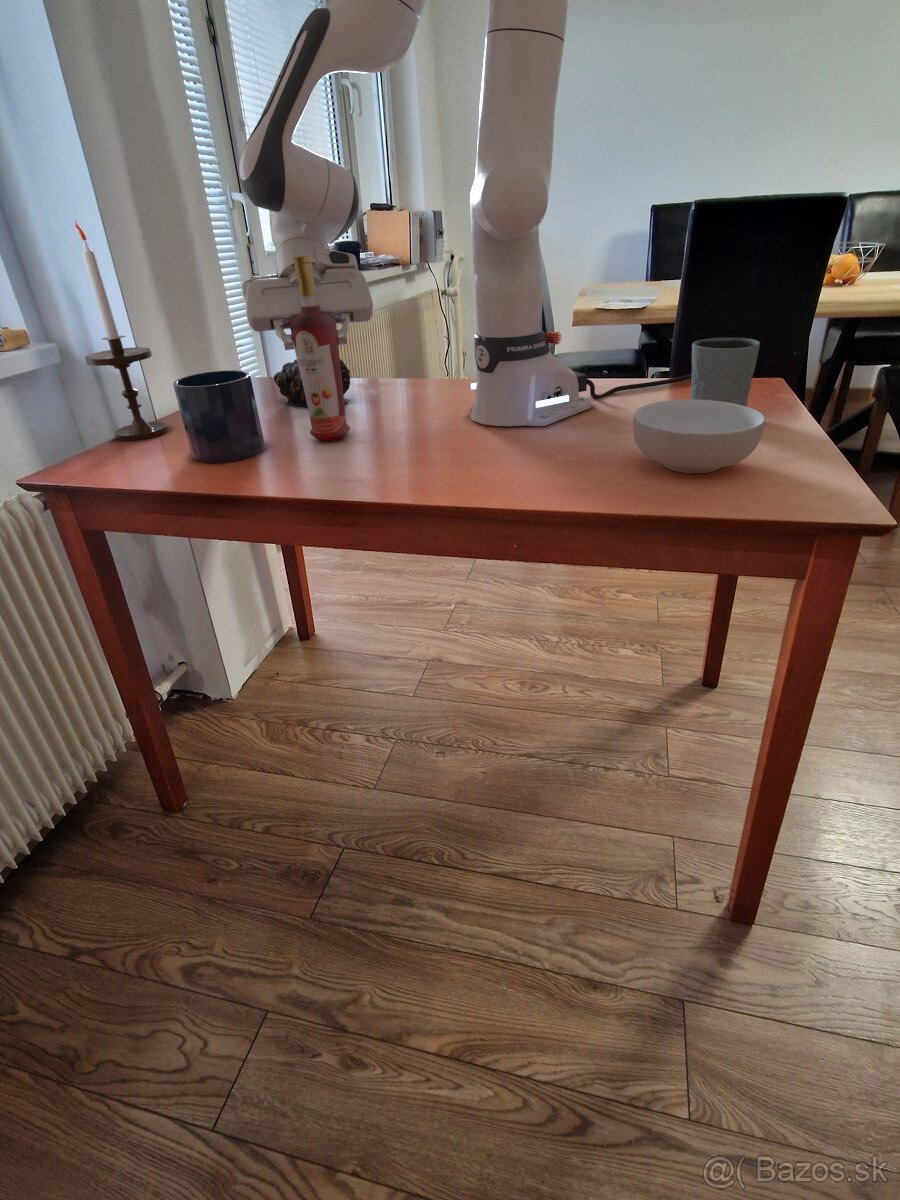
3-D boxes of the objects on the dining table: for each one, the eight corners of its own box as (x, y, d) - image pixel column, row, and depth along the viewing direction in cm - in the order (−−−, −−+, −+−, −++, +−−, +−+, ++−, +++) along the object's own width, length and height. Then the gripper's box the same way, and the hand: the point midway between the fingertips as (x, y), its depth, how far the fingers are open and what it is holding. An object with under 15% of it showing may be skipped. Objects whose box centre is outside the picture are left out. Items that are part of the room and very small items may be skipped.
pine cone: (289, 395, 145) (281, 347, 140) (361, 398, 139) (355, 347, 134) (261, 408, 137) (251, 357, 132) (336, 411, 131) (328, 358, 125)
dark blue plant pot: (251, 436, 119) (236, 366, 113) (275, 451, 111) (260, 377, 104) (184, 451, 114) (165, 379, 108) (204, 468, 105) (184, 390, 99)
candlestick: (98, 439, 124) (26, 223, 106) (145, 423, 132) (85, 220, 114) (138, 444, 119) (70, 219, 101) (184, 427, 127) (128, 216, 110)
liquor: (359, 432, 117) (334, 253, 103) (341, 445, 111) (312, 257, 97) (322, 431, 119) (292, 255, 105) (302, 444, 113) (268, 260, 99)
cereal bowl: (692, 496, 84) (699, 440, 80) (605, 461, 96) (607, 412, 93) (784, 467, 90) (795, 414, 87) (691, 438, 103) (697, 392, 99)
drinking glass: (727, 430, 105) (739, 350, 99) (671, 419, 112) (679, 344, 106) (759, 415, 111) (772, 339, 105) (704, 406, 118) (713, 334, 112)
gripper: (236, 264, 106) (246, 338, 102) (364, 253, 109) (378, 326, 105) (243, 292, 112) (253, 363, 108) (365, 281, 115) (378, 350, 111)
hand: (316, 345), depth 107 cm, fingers closed on liquor, 7 cm apart
